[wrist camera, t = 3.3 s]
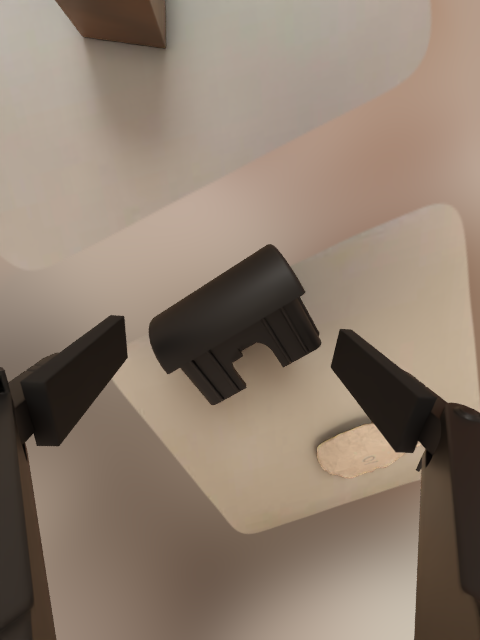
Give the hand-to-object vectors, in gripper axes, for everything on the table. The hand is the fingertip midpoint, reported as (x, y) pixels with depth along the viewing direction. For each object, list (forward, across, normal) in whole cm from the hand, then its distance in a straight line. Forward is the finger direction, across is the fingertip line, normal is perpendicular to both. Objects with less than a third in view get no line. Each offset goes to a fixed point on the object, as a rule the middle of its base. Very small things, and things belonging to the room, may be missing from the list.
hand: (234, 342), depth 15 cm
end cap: (+7, 0, 0) cm, 7 cm away
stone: (+7, +17, -14) cm, 23 cm away
